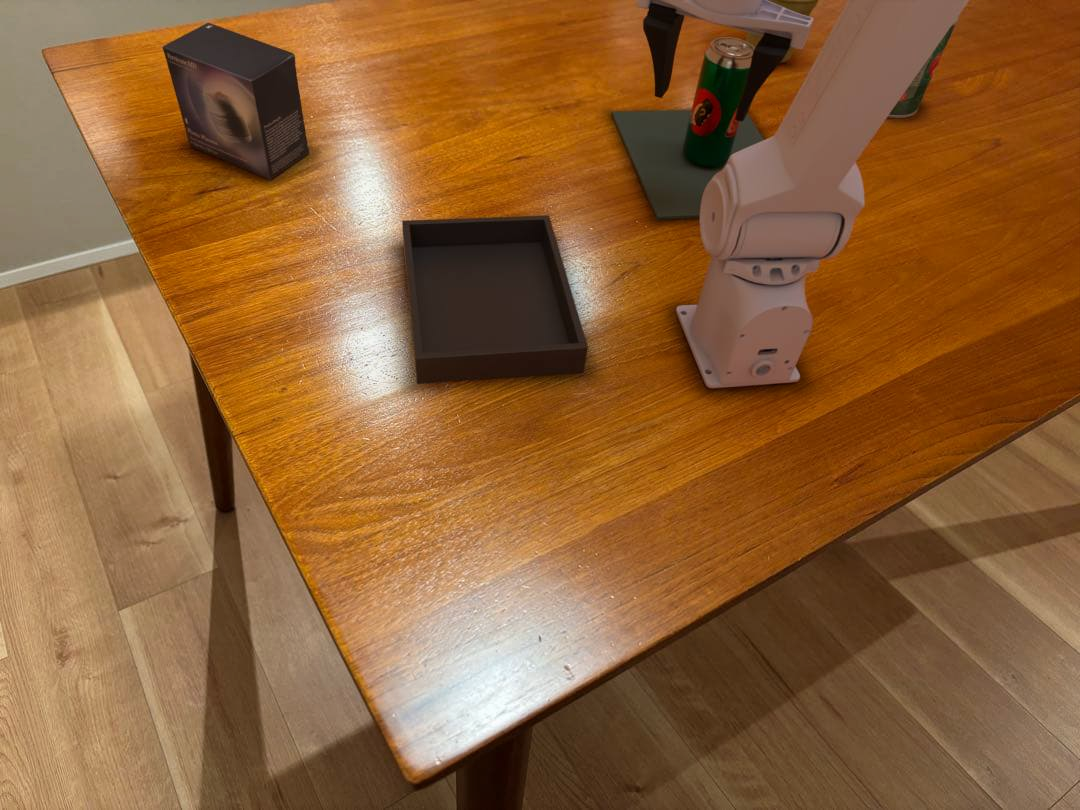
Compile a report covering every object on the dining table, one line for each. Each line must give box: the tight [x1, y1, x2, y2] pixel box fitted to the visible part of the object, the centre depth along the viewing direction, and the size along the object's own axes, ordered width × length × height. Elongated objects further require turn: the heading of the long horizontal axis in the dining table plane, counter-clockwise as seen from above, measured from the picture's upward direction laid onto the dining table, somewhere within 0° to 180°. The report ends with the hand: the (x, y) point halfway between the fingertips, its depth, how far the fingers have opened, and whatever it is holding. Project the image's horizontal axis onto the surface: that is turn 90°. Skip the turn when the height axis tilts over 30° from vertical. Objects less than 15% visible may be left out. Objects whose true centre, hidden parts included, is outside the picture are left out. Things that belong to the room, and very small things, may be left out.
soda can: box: [683, 36, 755, 168], centre depth 83 cm, size 5×5×12 cm
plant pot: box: [744, 0, 819, 64], centre depth 103 cm, size 9×9×9 cm
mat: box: [610, 109, 765, 221], centre depth 87 cm, size 20×16×1 cm
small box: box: [161, 22, 310, 181], centre depth 78 cm, size 11×6×10 cm, turn 62°
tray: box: [401, 214, 589, 385], centre depth 69 cm, size 17×13×3 cm
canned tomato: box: [887, 16, 959, 119], centre depth 96 cm, size 8×8×11 cm
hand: (700, 104), depth 74 cm, fingers open, 7 cm apart
